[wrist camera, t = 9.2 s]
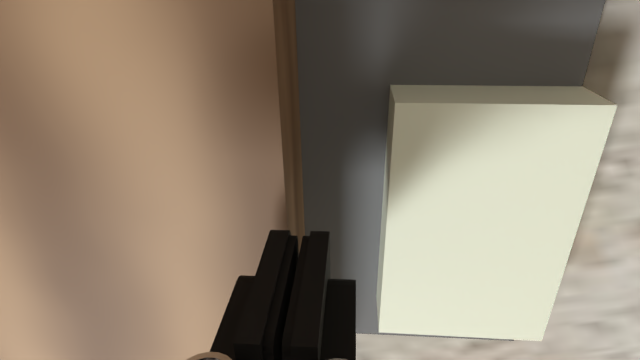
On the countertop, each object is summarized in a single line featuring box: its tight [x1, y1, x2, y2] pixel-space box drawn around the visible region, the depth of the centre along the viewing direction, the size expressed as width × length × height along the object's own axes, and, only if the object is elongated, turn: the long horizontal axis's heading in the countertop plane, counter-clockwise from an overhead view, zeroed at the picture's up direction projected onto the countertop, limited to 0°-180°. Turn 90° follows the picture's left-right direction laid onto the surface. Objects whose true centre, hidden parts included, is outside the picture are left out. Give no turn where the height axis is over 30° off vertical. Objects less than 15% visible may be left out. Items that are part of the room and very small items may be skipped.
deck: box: [0, 0, 305, 360], centre depth 14 cm, size 14×22×4 cm, turn 1°
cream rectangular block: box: [376, 85, 617, 341], centre depth 15 cm, size 6×9×2 cm, turn 1°
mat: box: [295, 0, 605, 341], centre depth 15 cm, size 9×16×1 cm, turn 1°
